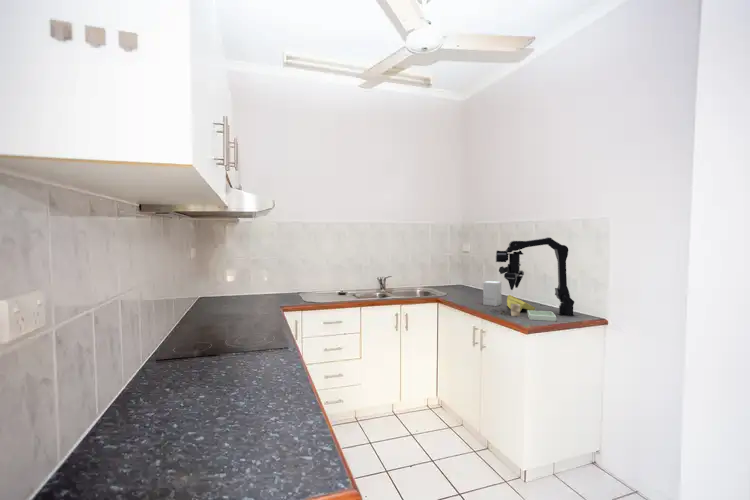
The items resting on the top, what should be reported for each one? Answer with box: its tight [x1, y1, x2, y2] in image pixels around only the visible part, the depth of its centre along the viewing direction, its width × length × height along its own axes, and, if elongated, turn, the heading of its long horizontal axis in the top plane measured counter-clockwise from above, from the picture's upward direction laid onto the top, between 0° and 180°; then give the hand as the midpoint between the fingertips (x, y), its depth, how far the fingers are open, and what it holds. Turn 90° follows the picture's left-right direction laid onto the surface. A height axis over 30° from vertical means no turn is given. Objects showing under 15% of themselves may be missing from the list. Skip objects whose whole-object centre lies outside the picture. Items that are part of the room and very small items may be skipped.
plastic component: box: [506, 294, 536, 312], centre depth 226 cm, size 20×7×10 cm
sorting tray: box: [526, 309, 557, 322], centre depth 203 cm, size 13×13×2 cm
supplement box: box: [482, 280, 502, 307], centre depth 241 cm, size 9×9×15 cm
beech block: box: [510, 304, 521, 317], centre depth 210 cm, size 4×4×6 cm
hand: (514, 288), depth 216 cm, fingers open, 9 cm apart
